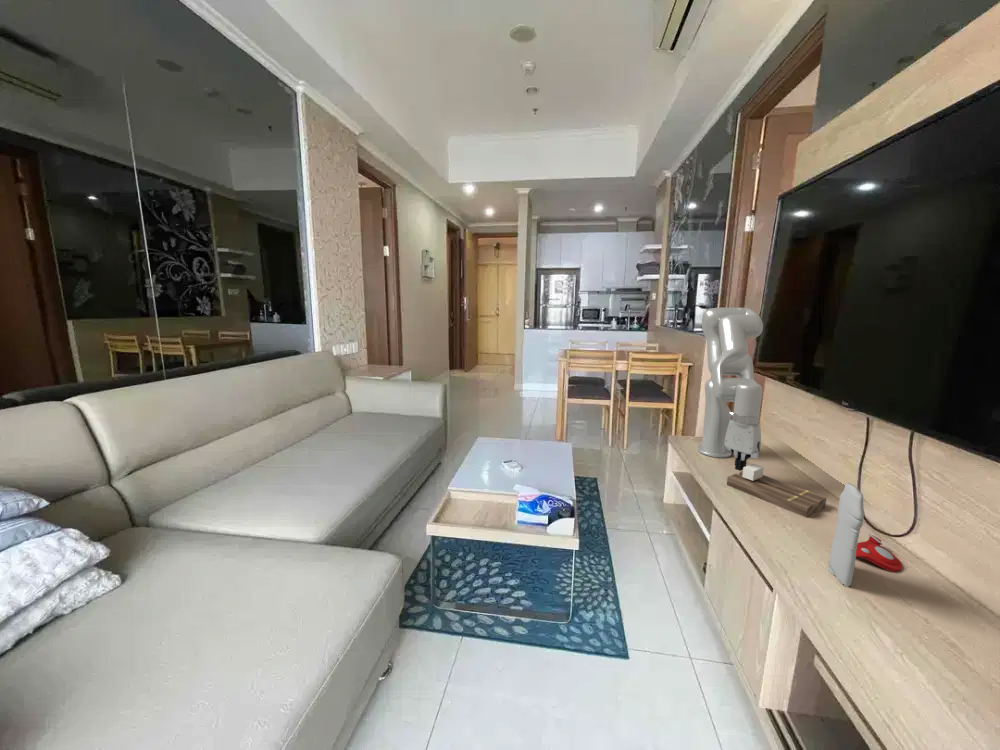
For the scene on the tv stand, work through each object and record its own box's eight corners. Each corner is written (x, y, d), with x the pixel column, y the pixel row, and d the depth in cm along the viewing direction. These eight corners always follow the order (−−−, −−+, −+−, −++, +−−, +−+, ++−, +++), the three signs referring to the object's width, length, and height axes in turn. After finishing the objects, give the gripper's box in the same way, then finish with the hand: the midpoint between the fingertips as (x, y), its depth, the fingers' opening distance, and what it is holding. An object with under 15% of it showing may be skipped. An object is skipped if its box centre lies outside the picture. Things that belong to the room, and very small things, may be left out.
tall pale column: (821, 558, 101) (835, 476, 96) (841, 562, 99) (856, 479, 95) (836, 585, 91) (852, 496, 87) (859, 590, 90) (877, 500, 85)
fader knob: (751, 477, 141) (753, 463, 140) (762, 481, 138) (764, 467, 137) (741, 481, 138) (743, 467, 137) (752, 485, 135) (754, 471, 134)
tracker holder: (915, 571, 95) (871, 559, 95) (903, 583, 96) (860, 571, 97) (881, 531, 105) (841, 521, 106) (871, 543, 107) (832, 533, 108)
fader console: (746, 477, 145) (747, 469, 145) (825, 506, 125) (826, 497, 124) (726, 484, 139) (727, 476, 139) (806, 517, 119) (807, 507, 118)
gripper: (718, 415, 142) (713, 463, 145) (762, 426, 129) (755, 479, 133) (730, 412, 146) (725, 459, 149) (775, 422, 133) (768, 474, 136)
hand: (739, 469), depth 141 cm, fingers closed
